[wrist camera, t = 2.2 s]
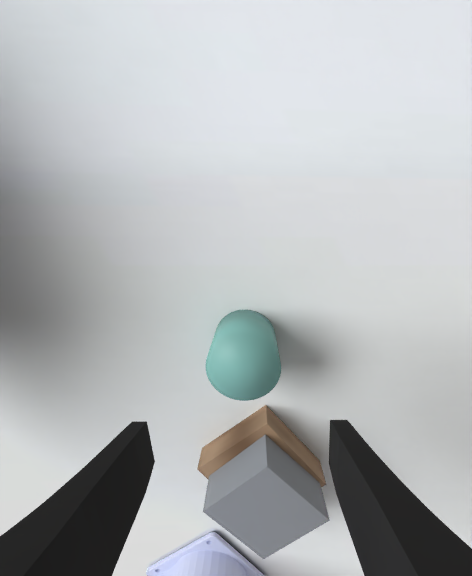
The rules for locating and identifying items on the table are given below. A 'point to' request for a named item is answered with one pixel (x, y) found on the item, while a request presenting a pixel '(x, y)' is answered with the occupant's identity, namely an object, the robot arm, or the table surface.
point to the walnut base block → (249, 433)
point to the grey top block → (265, 498)
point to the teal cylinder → (244, 356)
